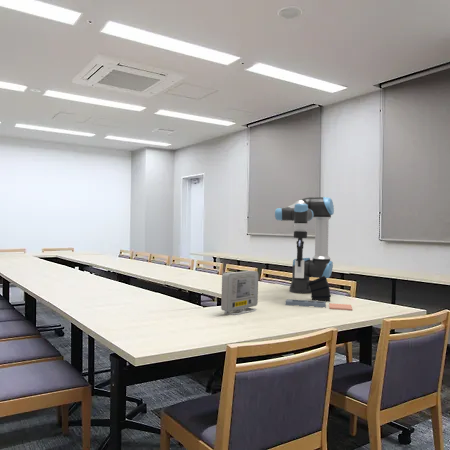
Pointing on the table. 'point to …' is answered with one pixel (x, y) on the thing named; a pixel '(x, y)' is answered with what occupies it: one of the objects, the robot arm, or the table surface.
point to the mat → (340, 306)
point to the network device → (239, 292)
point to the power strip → (305, 303)
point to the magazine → (320, 289)
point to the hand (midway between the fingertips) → (299, 272)
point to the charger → (299, 275)
